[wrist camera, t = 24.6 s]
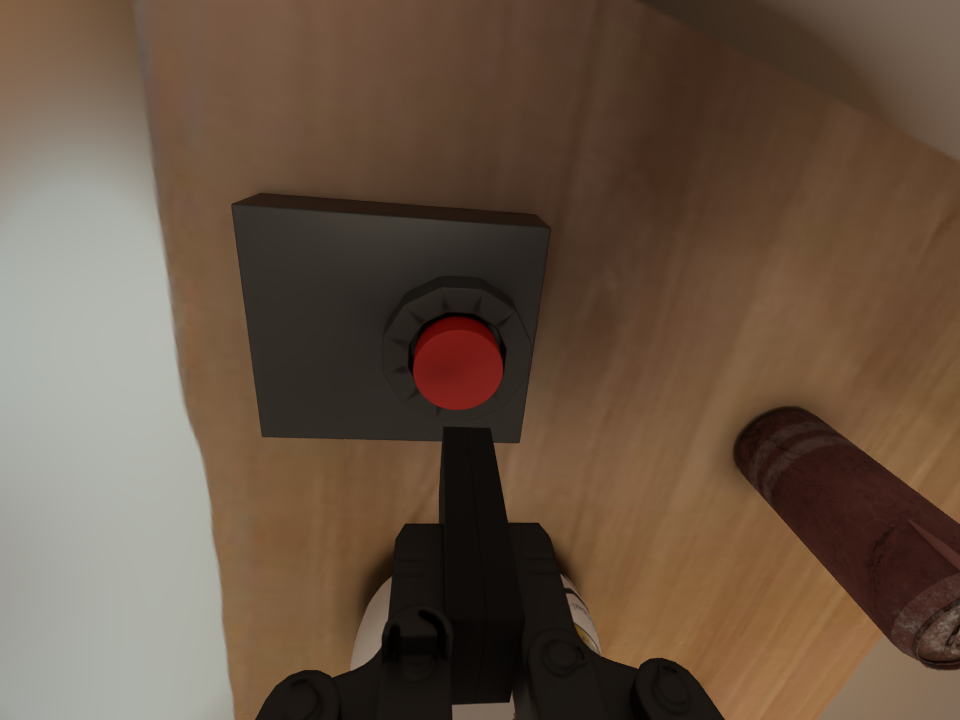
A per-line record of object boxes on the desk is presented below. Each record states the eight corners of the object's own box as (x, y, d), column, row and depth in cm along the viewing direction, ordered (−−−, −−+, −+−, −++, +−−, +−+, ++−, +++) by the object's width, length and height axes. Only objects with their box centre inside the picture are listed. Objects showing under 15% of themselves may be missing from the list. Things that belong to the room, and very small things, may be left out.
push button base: (536, 214, 25) (561, 235, 20) (510, 409, 30) (525, 464, 25) (259, 192, 24) (212, 209, 19) (281, 402, 29) (249, 458, 24)
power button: (503, 317, 22) (508, 332, 20) (494, 393, 24) (498, 411, 22) (416, 313, 22) (414, 327, 20) (413, 390, 23) (411, 409, 22)
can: (809, 388, 31) (1057, 561, 19) (826, 454, 34) (1054, 645, 21) (721, 428, 32) (903, 620, 20) (745, 490, 35) (918, 693, 22)
